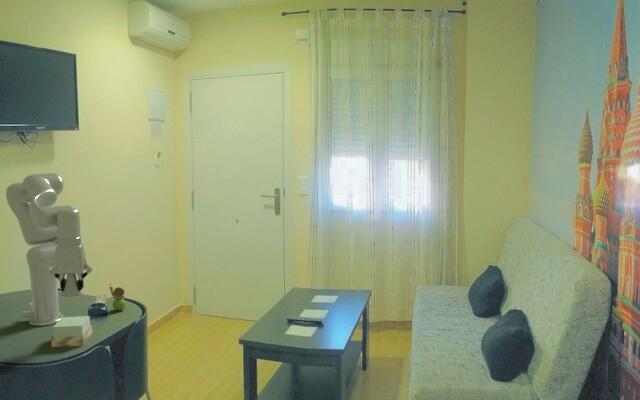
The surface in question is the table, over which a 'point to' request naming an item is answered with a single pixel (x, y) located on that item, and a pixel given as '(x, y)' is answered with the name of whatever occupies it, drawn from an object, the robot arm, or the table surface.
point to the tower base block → (71, 339)
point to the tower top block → (71, 326)
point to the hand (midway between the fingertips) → (72, 289)
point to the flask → (71, 286)
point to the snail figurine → (118, 298)
